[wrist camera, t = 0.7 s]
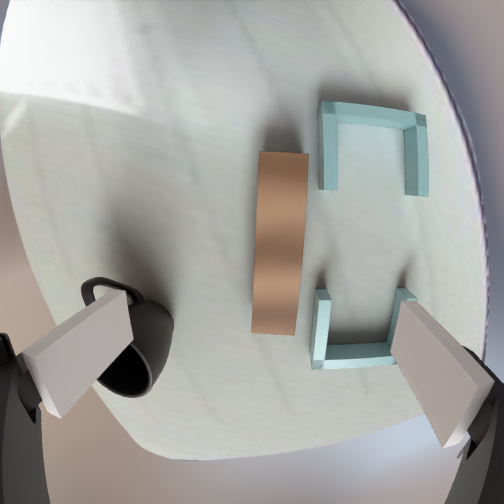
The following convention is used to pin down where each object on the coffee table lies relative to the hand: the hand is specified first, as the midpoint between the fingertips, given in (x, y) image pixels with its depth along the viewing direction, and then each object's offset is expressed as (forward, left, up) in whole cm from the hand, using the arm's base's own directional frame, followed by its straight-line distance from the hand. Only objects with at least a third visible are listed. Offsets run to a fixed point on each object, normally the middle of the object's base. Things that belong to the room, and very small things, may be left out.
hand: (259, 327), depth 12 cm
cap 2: (+8, +10, -16) cm, 20 cm away
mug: (+7, -14, -16) cm, 23 cm away
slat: (-1, +1, -16) cm, 16 cm away
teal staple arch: (-10, +10, -16) cm, 21 cm away
